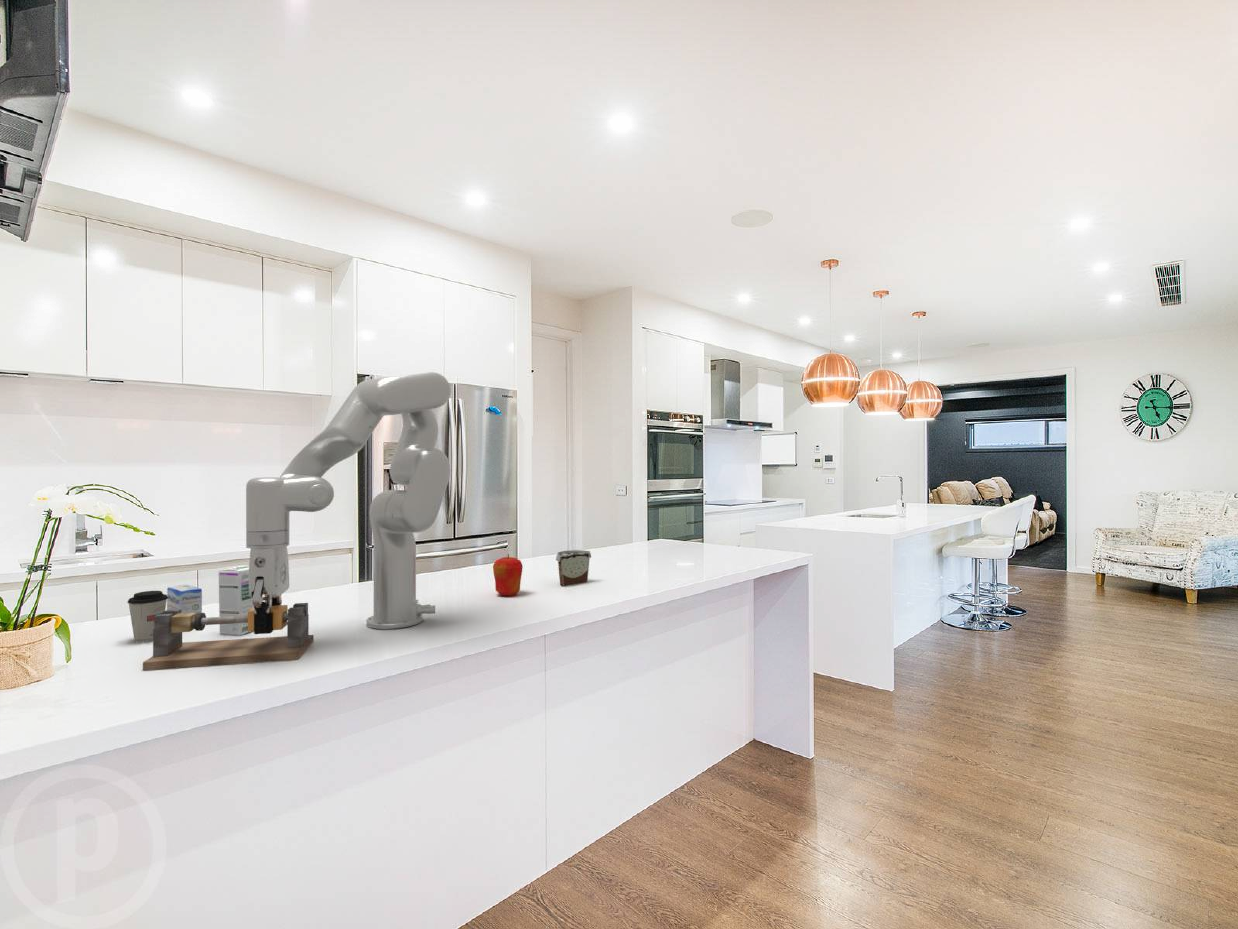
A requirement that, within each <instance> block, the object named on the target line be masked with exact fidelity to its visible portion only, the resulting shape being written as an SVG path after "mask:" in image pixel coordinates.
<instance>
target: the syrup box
mask: <svg viewBox="0 0 1238 929" xmlns="http://www.w3.org/2000/svg"><path fill="white" fill-rule="evenodd" d="M218 606H219V607H218V612H219V613H218V614H219V615H218V617H229V616H248V611H249V610H251V609H252V608H254V606H253V603H252V598H251V597H250V596H249V565H238V566H235V567H230V568H225V569H220V570H218ZM247 633H249V632H248V623H234V624H219V634H220V635H224V636H225V635H226V636H243V635H245V634H247Z"/></svg>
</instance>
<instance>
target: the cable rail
mask: <svg viewBox="0 0 1238 929" xmlns="http://www.w3.org/2000/svg"><path fill="white" fill-rule="evenodd" d="M309 616H310V615H309V602H299V603H297V602H296V603H294V604H293V605H292V606H291V607H289V608H288V613H287V614H283V621H288V622H287V625H286V628H287V633H286V634H287V635H286V636H272V637H271V636H269V637H268V636H267V637H254V638H252V637H251V638H238V639H220V640H219V639H218V640H205V641H204V640H203V641H200V640H199V641H187V642H183V633H190V632H192V631H194V630H195V631H196V632H200V631H203V630H204V629H205V627H206V626H209V625H210V626H212V625H220V624H234V623H248V616H229V617H219V616H216V617H215V616H214V617H212V616H211V617H207V616H206V613H205V612H202V613H181V609H172V610H167V609H165V611H164V612H163V614H158V615H156V616H154V629H153V641H152V656H151V657H149V658H148V659H146V660H144V661H143V662H142V671H154V670H155V671H156V670H168V669H172V670H173V669H184V668H185V669H186V668H197V667H200V668H202V667H210V666H211V667H212V666H213V667H215V666H225V665H226V666H227V665H242V664H244V665H245V664H257V663H273V662H285V661H298V660H300V658H301V657H302V656H303V655H304V654H305V653H306V651H308V649H309V648H310V647H311V645H312V644H313V643H314V642H315V634H310V631H309V628H310V626H309V625H310V624H309V623H310V622H309Z"/></svg>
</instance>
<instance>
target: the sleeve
mask: <svg viewBox="0 0 1238 929" xmlns="http://www.w3.org/2000/svg"><path fill="white" fill-rule="evenodd" d="M288 607H289V605H288V604H281V605H277V606H271V612H273V631H281V630H283V629H284V628H285V627H287V622H288V621H283V614H287V613H288V609H289V608H288ZM251 632H254V608H252V609H251V610H249V611H248V633H251Z"/></svg>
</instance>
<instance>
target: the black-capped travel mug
mask: <svg viewBox="0 0 1238 929" xmlns="http://www.w3.org/2000/svg"><path fill="white" fill-rule="evenodd" d="M167 599H168V597H167V594H165V593H163V591H162V590H145V591H139V592H135V593H134V594H133V596H132V597H130V598H128V600H127V604H128V608H129V614H130V622H131V628H132V632H133V640H134V643H149V642H153V629H154V616H156V615H158V614H163V612H164V611H166V609H167Z"/></svg>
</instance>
